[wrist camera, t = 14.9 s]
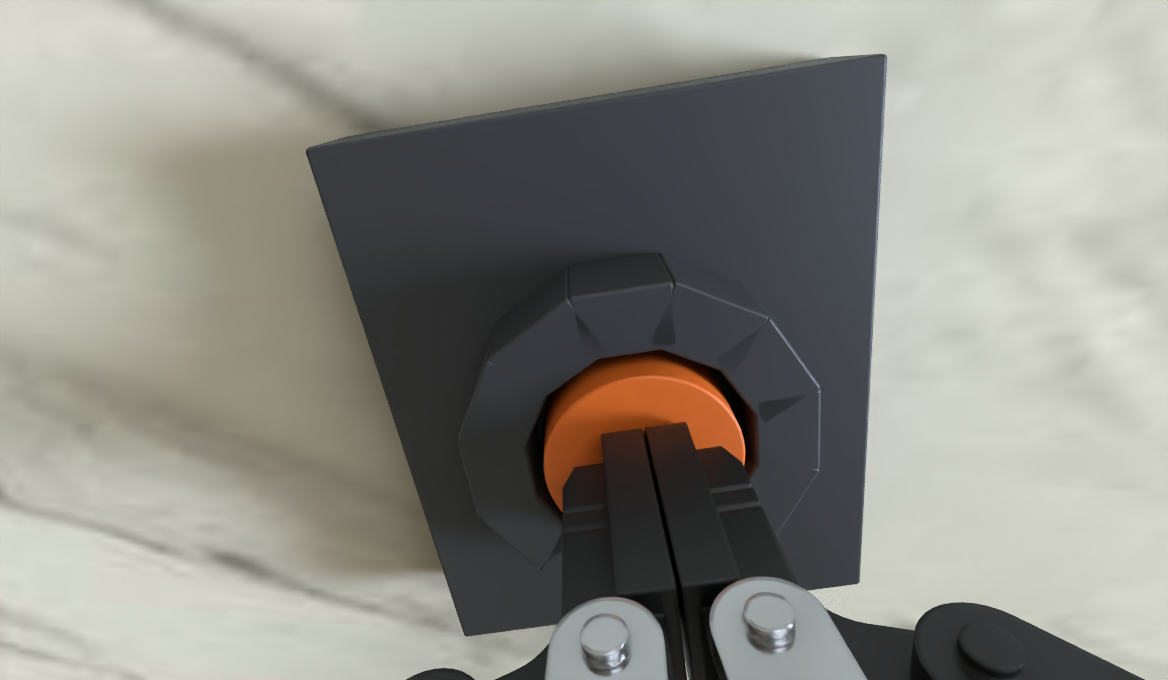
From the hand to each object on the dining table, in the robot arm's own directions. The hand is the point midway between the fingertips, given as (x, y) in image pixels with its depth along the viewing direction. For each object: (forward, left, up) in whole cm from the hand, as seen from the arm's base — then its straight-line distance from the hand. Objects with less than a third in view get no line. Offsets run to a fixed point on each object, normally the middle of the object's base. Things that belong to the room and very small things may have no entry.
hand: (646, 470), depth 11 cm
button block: (0, 0, -4) cm, 4 cm away
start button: (0, 0, -2) cm, 2 cm away
